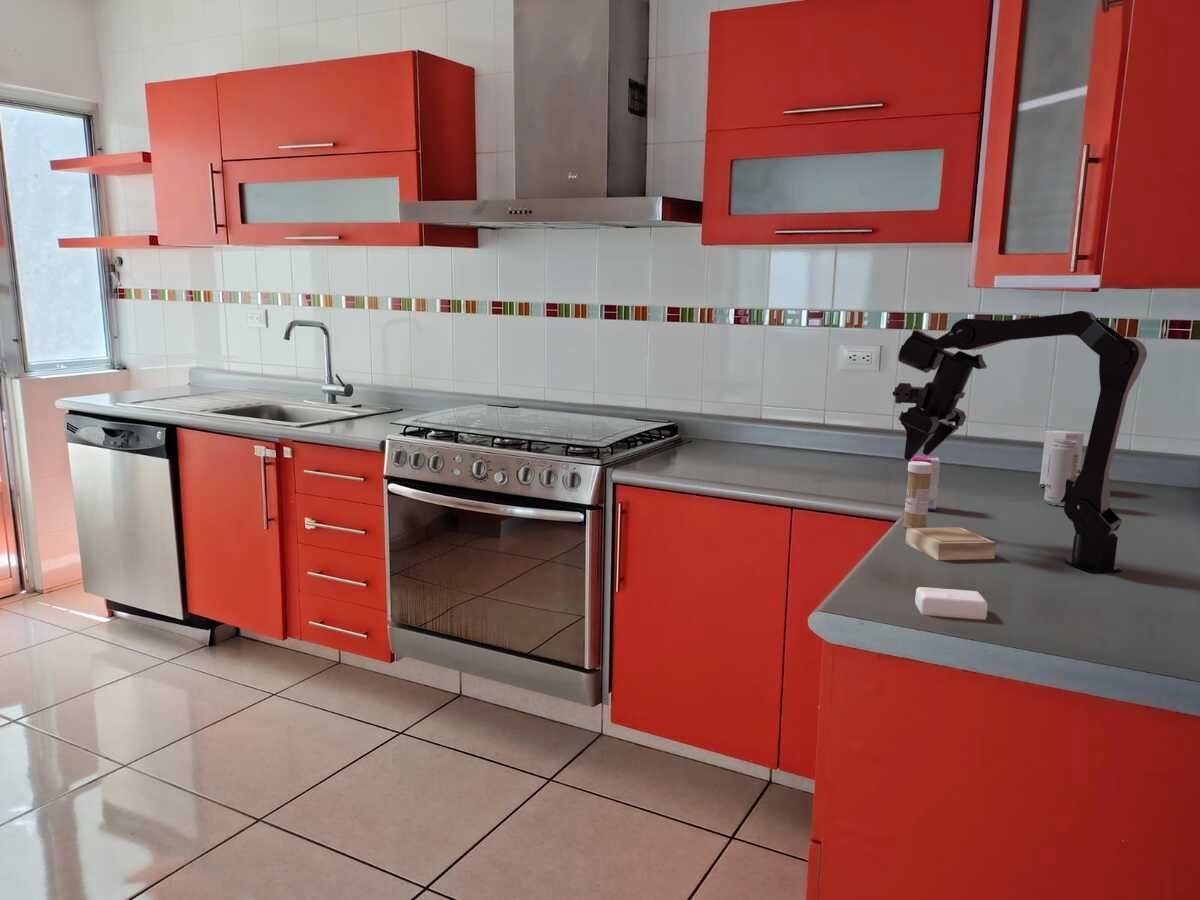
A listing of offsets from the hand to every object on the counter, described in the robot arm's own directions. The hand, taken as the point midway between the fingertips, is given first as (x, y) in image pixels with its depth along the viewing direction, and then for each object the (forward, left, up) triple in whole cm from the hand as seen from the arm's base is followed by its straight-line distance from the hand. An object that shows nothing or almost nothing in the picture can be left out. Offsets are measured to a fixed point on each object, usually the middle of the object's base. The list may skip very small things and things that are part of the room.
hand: (916, 456), depth 173 cm
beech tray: (-13, 0, -15) cm, 20 cm away
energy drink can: (+24, -51, -15) cm, 58 cm away
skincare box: (+42, -65, -15) cm, 79 cm away
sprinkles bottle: (+4, -3, -15) cm, 16 cm away
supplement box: (+22, -15, -15) cm, 31 cm away
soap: (-44, +19, -16) cm, 51 cm away
